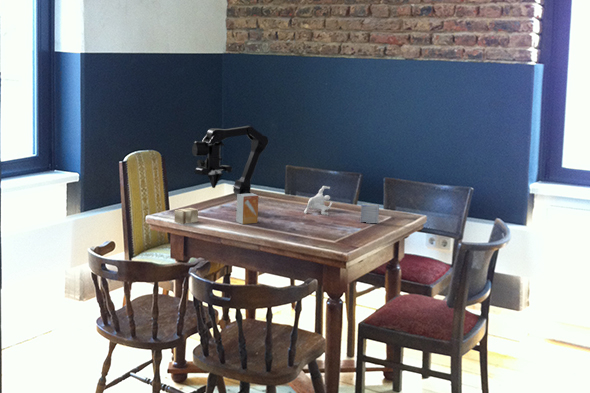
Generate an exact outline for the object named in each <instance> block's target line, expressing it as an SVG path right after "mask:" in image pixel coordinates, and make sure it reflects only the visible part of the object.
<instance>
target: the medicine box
mask: <svg viewBox="0 0 590 393" xmlns="http://www.w3.org/2000/svg"><path fill="white" fill-rule="evenodd" d="M379 215H380V204H372V203H362V204H361V206H360V220H359V222H360V223H361V222H366V223H365V224H370V223H377V224H378V223H379V217H380V216H379Z"/></svg>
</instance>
